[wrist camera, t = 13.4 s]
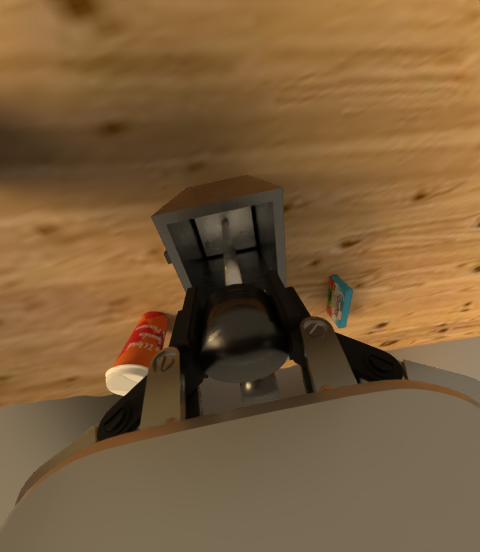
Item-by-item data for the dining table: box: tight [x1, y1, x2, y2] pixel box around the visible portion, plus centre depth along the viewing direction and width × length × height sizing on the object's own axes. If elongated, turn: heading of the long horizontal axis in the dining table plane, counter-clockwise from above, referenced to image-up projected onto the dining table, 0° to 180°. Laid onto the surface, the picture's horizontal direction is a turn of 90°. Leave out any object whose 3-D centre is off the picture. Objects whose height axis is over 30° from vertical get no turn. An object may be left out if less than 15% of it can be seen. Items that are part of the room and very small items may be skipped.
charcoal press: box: [151, 175, 287, 301], centre depth 23 cm, size 10×12×18 cm
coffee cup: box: [105, 312, 168, 396], centre depth 36 cm, size 8×8×15 cm
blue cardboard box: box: [327, 275, 353, 328], centre depth 42 cm, size 12×2×6 cm, turn 12°
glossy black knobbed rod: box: [240, 373, 280, 405], centre depth 26 cm, size 8×8×20 cm
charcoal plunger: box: [194, 206, 289, 383], centre depth 16 cm, size 8×8×20 cm
